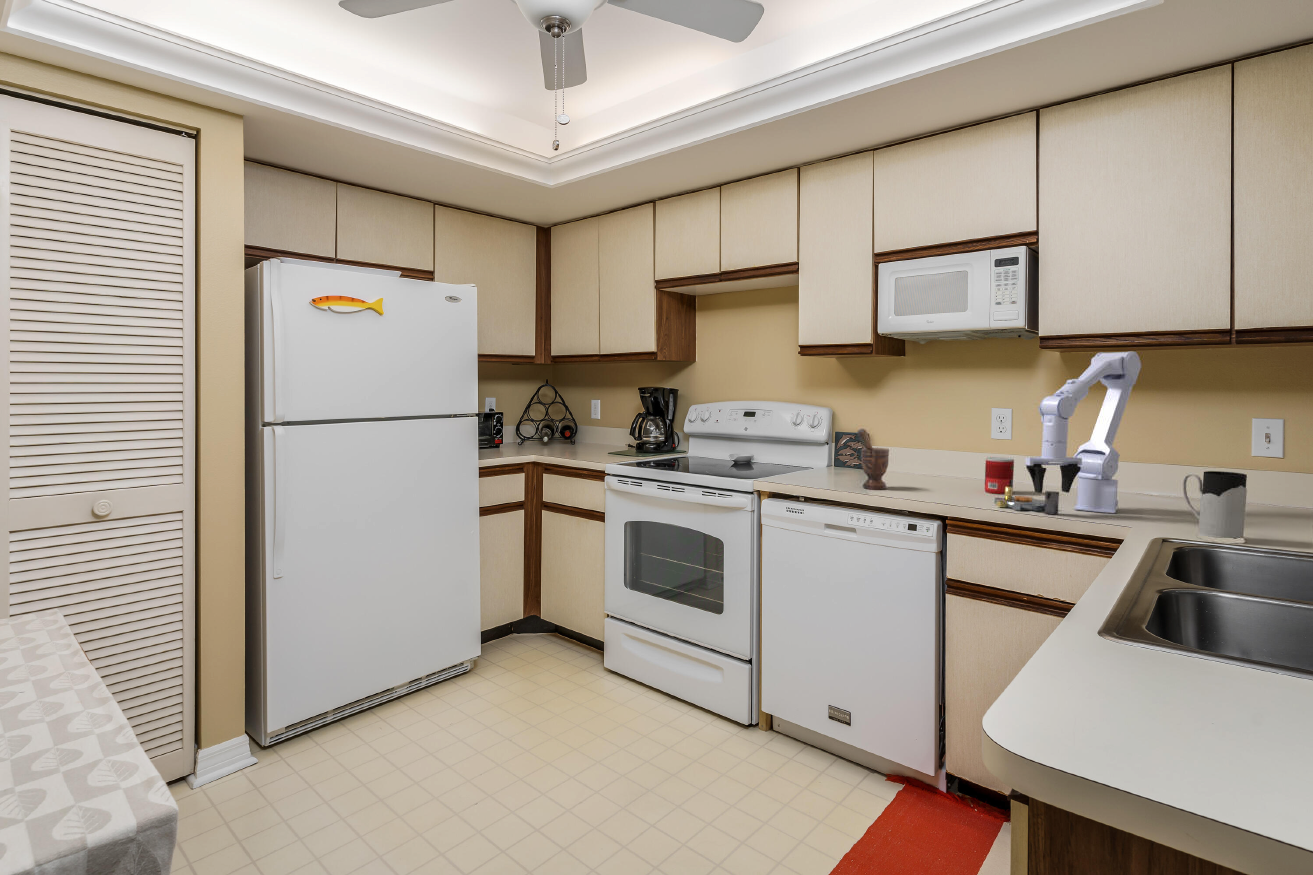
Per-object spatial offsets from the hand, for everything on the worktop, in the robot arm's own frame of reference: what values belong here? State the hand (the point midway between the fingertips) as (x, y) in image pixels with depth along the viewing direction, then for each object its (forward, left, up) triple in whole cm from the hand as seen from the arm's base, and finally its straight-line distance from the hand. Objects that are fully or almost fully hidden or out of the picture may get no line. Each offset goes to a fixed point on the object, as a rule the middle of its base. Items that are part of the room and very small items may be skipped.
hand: (1051, 492), depth 183 cm
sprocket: (+7, -7, -6) cm, 12 cm away
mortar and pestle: (+52, -14, -6) cm, 54 cm away
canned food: (+17, -30, -6) cm, 35 cm away
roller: (0, 0, -6) cm, 6 cm away
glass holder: (-33, +8, -6) cm, 34 cm away
